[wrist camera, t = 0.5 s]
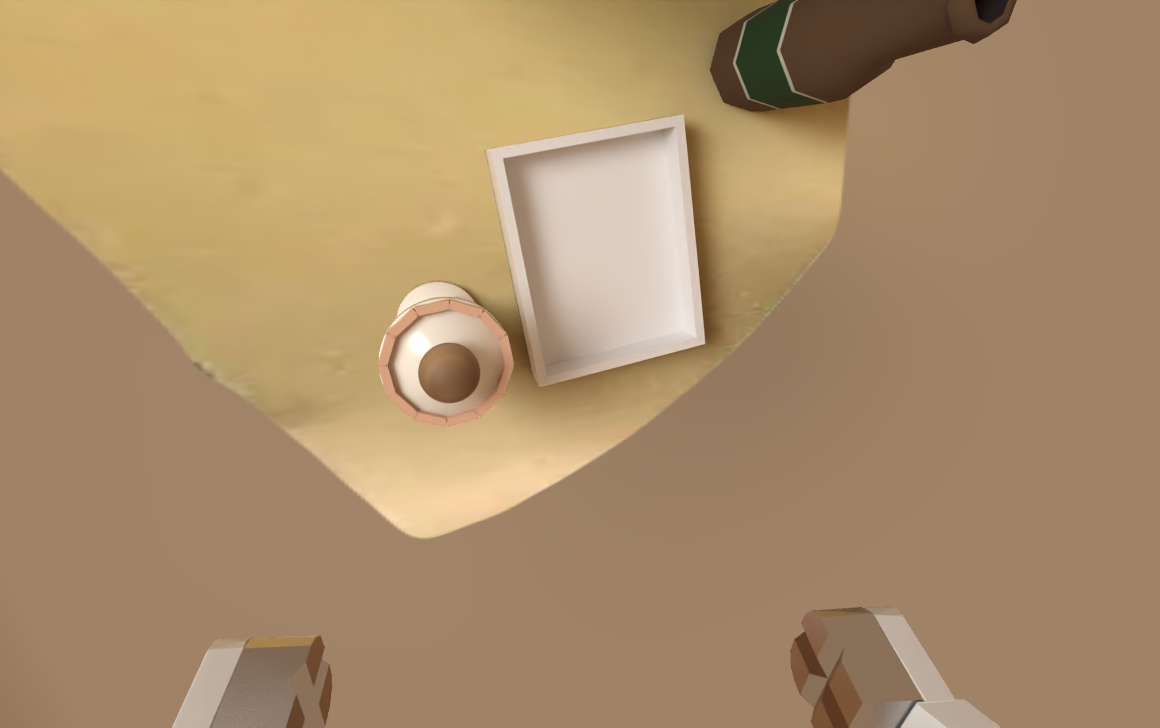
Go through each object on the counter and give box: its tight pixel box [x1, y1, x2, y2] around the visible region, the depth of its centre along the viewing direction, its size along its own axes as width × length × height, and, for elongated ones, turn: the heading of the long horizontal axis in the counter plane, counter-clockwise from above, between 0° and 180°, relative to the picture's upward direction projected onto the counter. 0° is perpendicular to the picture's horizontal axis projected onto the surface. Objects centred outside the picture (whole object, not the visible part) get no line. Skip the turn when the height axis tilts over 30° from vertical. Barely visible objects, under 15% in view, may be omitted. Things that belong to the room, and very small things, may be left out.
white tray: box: [485, 114, 705, 387], centre depth 52 cm, size 20×16×4 cm
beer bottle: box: [710, 0, 1017, 111], centre depth 41 cm, size 8×8×24 cm
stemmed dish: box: [378, 281, 514, 427], centre depth 46 cm, size 9×9×12 cm
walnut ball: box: [418, 343, 480, 403], centre depth 39 cm, size 4×4×4 cm
